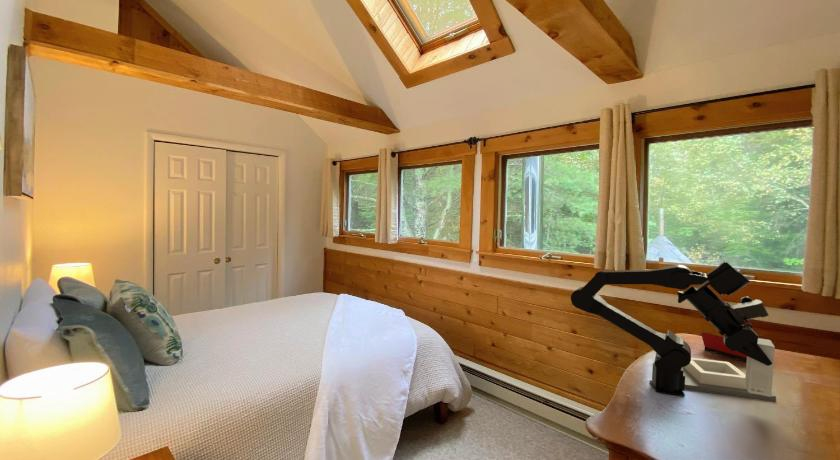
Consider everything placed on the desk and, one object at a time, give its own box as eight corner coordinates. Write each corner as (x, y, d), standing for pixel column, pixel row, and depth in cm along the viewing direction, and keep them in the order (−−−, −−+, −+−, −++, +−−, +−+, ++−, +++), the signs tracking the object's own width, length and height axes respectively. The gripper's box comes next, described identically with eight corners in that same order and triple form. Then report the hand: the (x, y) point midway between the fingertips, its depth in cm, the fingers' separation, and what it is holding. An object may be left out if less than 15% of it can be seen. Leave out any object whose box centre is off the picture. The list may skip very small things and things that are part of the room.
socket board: (684, 388, 99) (685, 373, 99) (664, 365, 114) (664, 352, 114) (775, 401, 93) (777, 385, 93) (741, 374, 109) (742, 360, 109)
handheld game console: (758, 359, 121) (760, 337, 121) (745, 365, 116) (746, 342, 116) (713, 347, 132) (714, 326, 132) (699, 352, 127) (700, 331, 127)
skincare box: (772, 398, 84) (775, 347, 83) (747, 392, 87) (750, 342, 86) (767, 387, 89) (771, 339, 88) (744, 382, 92) (747, 335, 91)
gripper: (747, 294, 81) (815, 354, 75) (738, 281, 96) (793, 331, 91) (701, 322, 86) (761, 381, 80) (698, 306, 101) (749, 355, 96)
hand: (767, 360), depth 87 cm, fingers closed on skincare box, 6 cm apart
